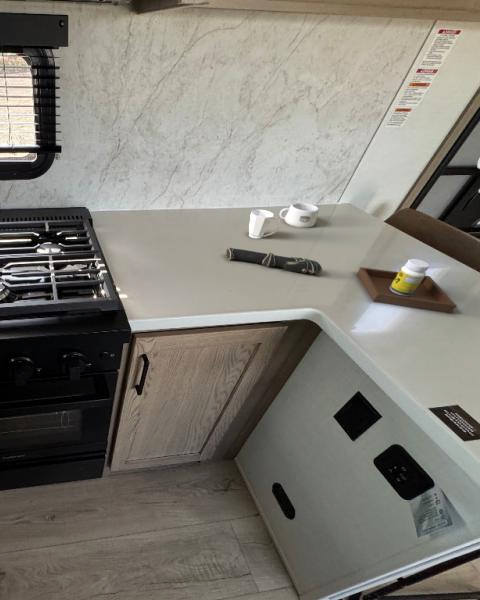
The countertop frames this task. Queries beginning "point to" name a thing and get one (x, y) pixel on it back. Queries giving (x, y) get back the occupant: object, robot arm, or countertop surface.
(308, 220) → the mug
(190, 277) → the countertop surface
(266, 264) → the twine-tied cloth roll
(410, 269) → the supplement bottle
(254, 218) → the cup
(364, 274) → the tray
